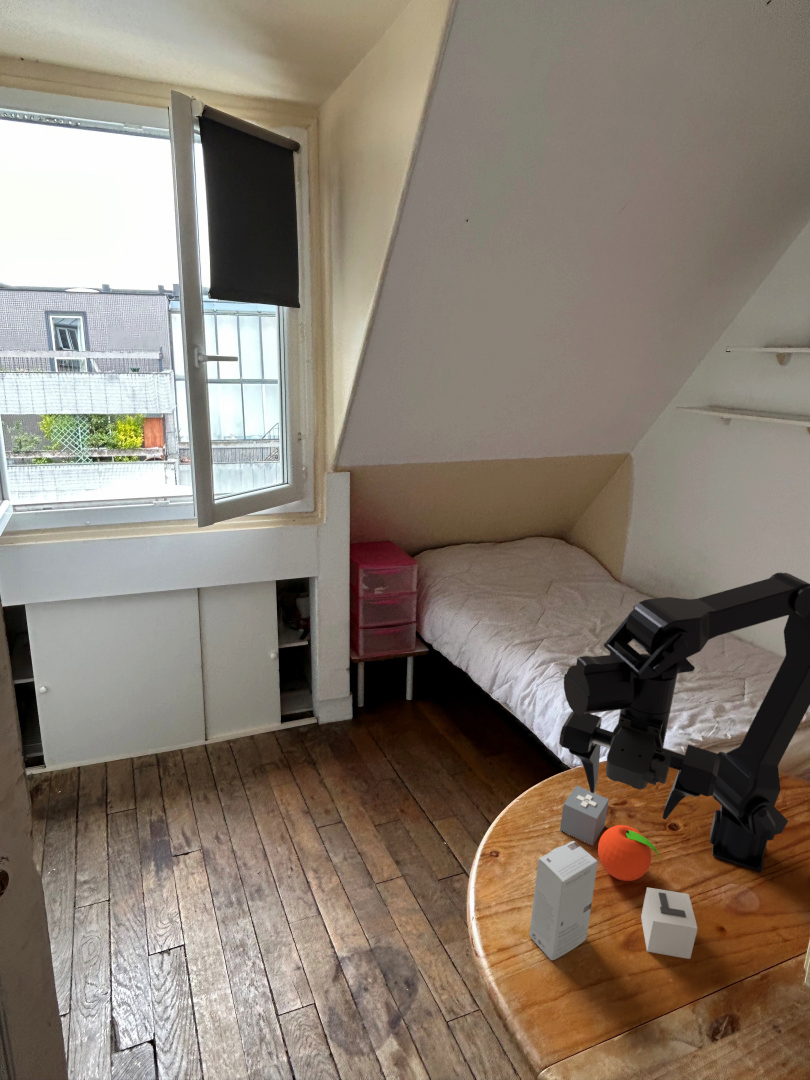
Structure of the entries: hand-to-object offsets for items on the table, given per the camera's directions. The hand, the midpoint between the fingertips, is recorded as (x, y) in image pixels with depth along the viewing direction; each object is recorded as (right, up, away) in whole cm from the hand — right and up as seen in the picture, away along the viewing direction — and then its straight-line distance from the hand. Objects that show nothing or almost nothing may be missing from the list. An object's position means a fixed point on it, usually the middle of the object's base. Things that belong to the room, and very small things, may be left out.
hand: (627, 803), depth 90 cm
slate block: (-3, -8, +12) cm, 15 cm away
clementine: (+1, -12, +5) cm, 12 cm away
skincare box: (-10, -15, -5) cm, 19 cm away
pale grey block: (+3, -15, -5) cm, 16 cm away
